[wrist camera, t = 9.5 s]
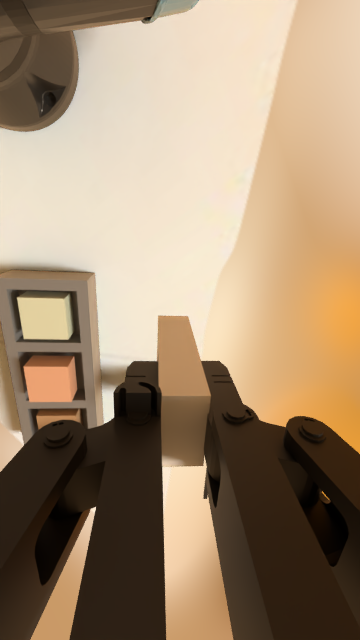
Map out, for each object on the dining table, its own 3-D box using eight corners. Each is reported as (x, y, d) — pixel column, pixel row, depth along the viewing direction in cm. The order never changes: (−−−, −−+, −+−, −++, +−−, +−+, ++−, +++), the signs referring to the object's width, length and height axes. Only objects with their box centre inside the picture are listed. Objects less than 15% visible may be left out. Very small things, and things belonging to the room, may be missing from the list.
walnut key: (43, 402, 47) (36, 416, 44) (81, 402, 47) (75, 415, 44) (48, 431, 49) (41, 445, 46) (83, 430, 49) (78, 445, 46)
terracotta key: (32, 355, 42) (23, 366, 39) (74, 355, 42) (67, 366, 40) (38, 389, 44) (29, 402, 41) (77, 389, 45) (71, 401, 42)
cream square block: (27, 290, 40) (17, 297, 37) (71, 292, 40) (64, 298, 37) (33, 329, 42) (23, 339, 39) (74, 330, 42) (68, 339, 39)
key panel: (10, 269, 41) (-8, 277, 36) (94, 272, 42) (87, 280, 37) (37, 431, 52) (25, 453, 47) (104, 430, 53) (99, 452, 48)
